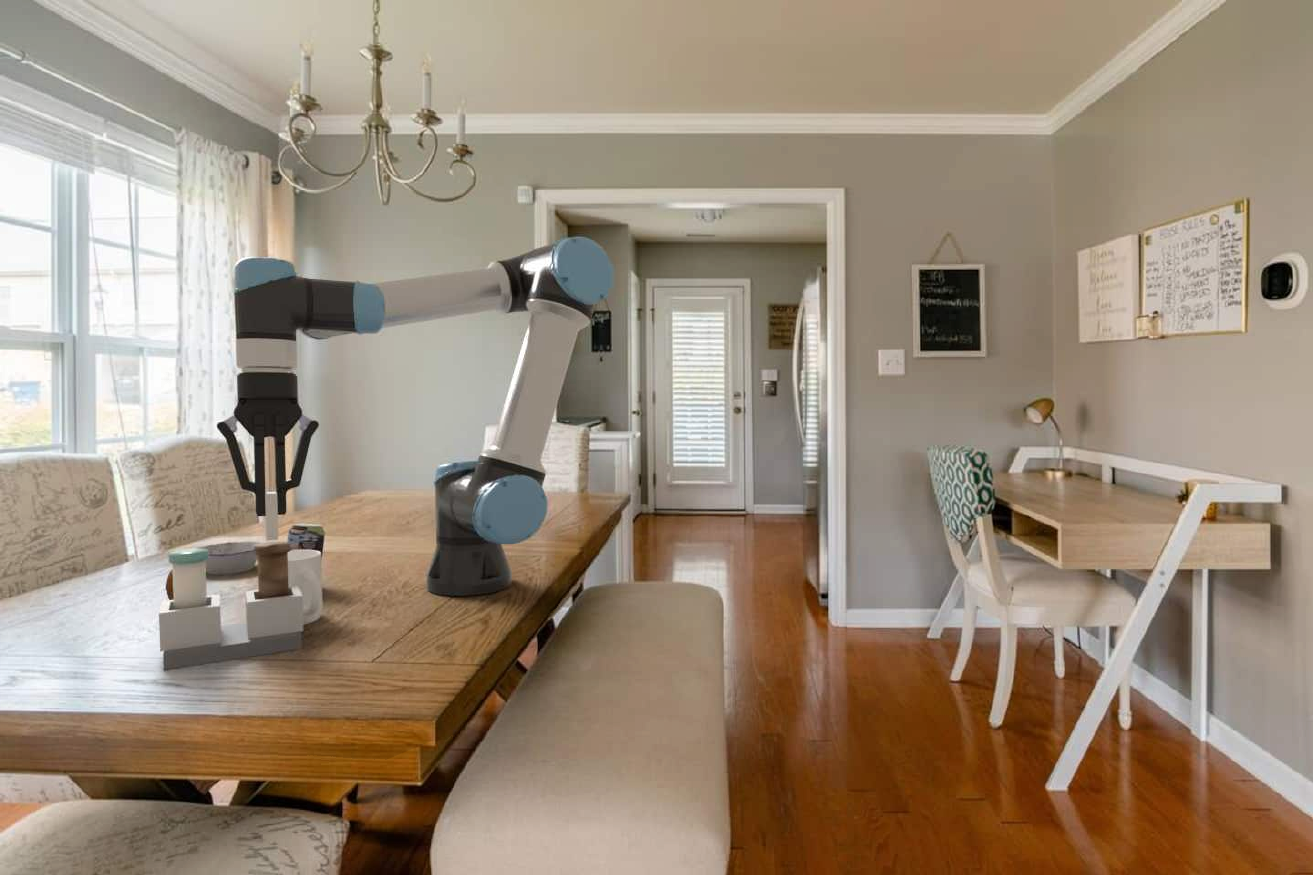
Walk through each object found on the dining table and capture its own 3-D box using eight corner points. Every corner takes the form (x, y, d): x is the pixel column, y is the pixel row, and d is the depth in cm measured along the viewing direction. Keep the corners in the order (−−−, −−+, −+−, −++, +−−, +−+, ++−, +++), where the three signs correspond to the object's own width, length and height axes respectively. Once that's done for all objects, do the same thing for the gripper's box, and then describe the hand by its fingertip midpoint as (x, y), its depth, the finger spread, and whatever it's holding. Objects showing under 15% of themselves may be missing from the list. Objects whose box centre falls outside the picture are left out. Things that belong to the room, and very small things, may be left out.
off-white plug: (210, 604, 104) (208, 547, 103) (210, 612, 100) (208, 553, 99) (171, 608, 101) (169, 551, 101) (169, 617, 97) (167, 557, 97)
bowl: (255, 575, 145) (254, 551, 145) (182, 579, 142) (181, 554, 142) (273, 561, 158) (272, 538, 157) (206, 564, 155) (205, 541, 154)
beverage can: (274, 591, 133) (272, 525, 132) (307, 582, 140) (306, 519, 139) (300, 595, 131) (299, 527, 130) (333, 585, 138) (331, 521, 137)
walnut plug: (290, 594, 109) (289, 540, 108) (293, 601, 105) (291, 545, 104) (254, 598, 107) (253, 543, 106) (256, 606, 103) (254, 549, 102)
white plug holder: (298, 628, 112) (296, 582, 112) (304, 647, 103) (303, 598, 103) (164, 647, 104) (162, 598, 103) (160, 670, 95) (157, 616, 95)
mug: (344, 623, 115) (342, 557, 114) (290, 636, 108) (288, 567, 108) (307, 609, 122) (306, 547, 122) (254, 620, 116) (252, 555, 115)
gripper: (315, 372, 110) (319, 530, 112) (213, 371, 104) (218, 538, 105) (321, 371, 104) (325, 538, 105) (213, 369, 97) (218, 547, 99)
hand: (271, 538), depth 105 cm, fingers closed
